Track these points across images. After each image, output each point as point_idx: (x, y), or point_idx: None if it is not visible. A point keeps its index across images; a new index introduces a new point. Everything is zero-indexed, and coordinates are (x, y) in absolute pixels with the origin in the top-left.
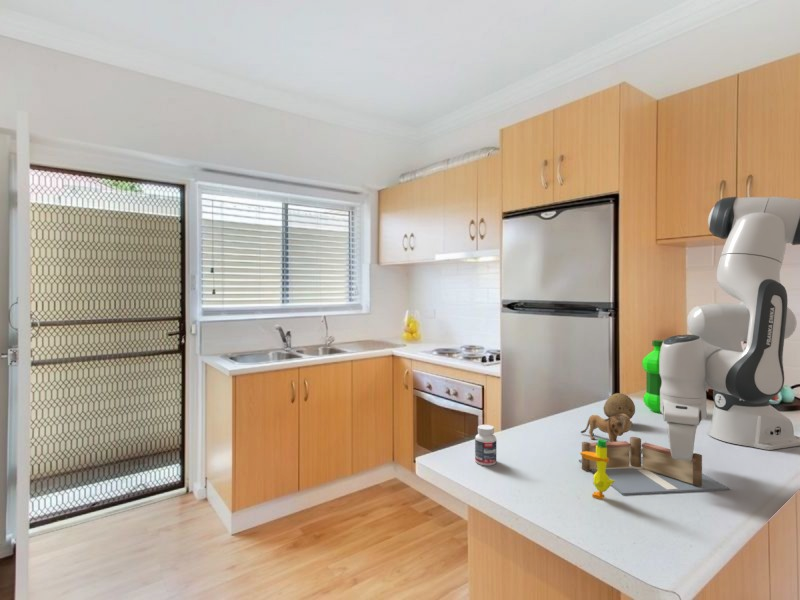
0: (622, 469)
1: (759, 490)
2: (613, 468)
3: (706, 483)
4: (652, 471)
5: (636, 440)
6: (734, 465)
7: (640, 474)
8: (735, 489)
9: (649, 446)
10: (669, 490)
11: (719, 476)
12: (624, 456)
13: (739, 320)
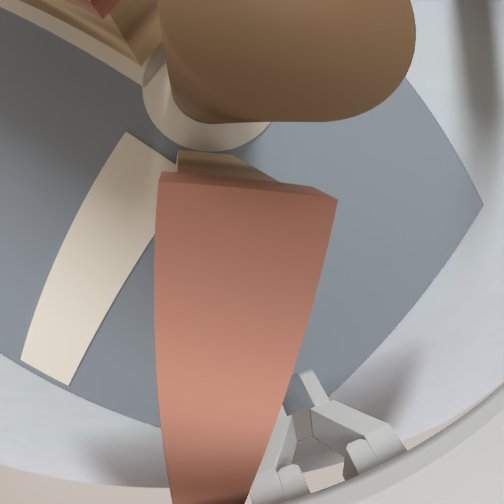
0: (59, 59)
1: (315, 460)
2: (31, 22)
3: None
4: None
5: (171, 44)
6: (467, 360)
7: (65, 184)
8: None
9: (155, 332)
10: (22, 365)
11: (369, 392)
12: (84, 18)
13: None
